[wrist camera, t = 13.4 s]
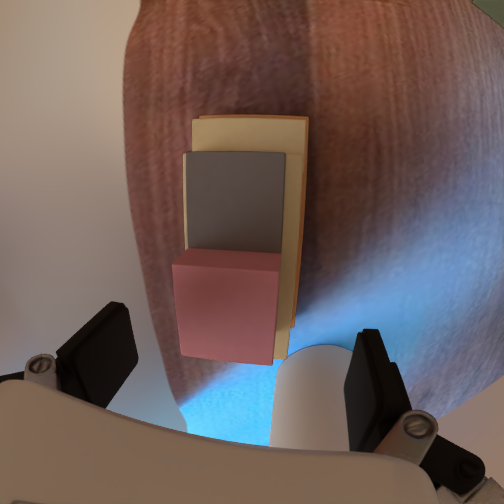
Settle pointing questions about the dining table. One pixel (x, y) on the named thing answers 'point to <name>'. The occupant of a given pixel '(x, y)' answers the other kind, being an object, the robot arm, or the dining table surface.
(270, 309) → the grey and pink l-bracket
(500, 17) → the rectangular block
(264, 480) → the robot arm
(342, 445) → the cup
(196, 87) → the dining table surface
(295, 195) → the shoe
